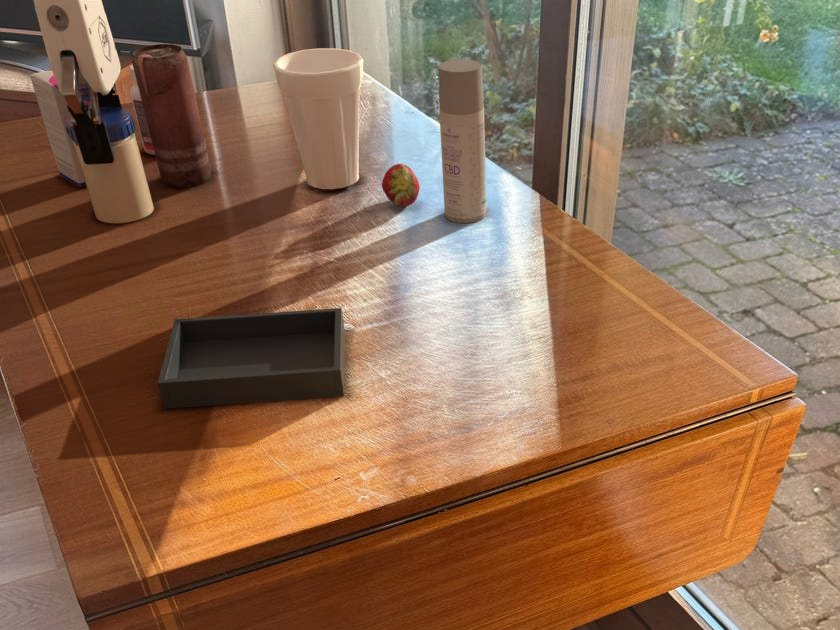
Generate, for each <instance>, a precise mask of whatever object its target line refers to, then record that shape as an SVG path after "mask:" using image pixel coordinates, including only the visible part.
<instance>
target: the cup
mask: <svg viewBox="0 0 840 630" xmlns="http://www.w3.org/2000/svg"><path fill="white" fill-rule="evenodd" d="M272 67H273V70H274V71H273V72H274V74H275V77H276V82H277V85H278V87H279V89H280V90H281V93H282V96H283V99H284V103H285V106H286V111H287V114H288V119H289V121H290V125H291V129H292V131H293V135H294V139H295V143H296V146H297V149H298V150H297V151H298V153H299V157H300V161H301V163H302V168H303V171H304V175H305V179H306V183H307V184H308V185H309V186H310V187H312V188H316V189H321V190H336V189H343V188H346V187H349V186H353V185H354V184H356V183H357V182H358V181H359V179H360V174H359V154H360V153H359V151H360V149H359V144H360V143H359V141H360V140H359V139H360V138H359V135H360V88H361V87H362V84H363V79H364V59H363V57H362V56H361V55H360V54H359V53H358V52H355V51H352V50H350V49H344V48H335V47H328V48H327V47H319V48H317V47H316V48H310V49H309V48H307V49H302V50H301V49H300V50H296V51H293V52H288V53H286V54H284V55H281V56H280V57H278V58H277V59H275V61H274V63H273V64H272Z"/></svg>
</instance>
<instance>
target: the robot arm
mask: <svg viewBox="0 0 840 630" xmlns="http://www.w3.org/2000/svg"><path fill="white" fill-rule="evenodd" d="M33 4H34V11H35V13H36V17H37V20H38V25H39V28H40V32H41V36H42V41H43V43H44V46H45V51H46V54H47V57H48V61H49V65H50V68H51V69H52V72H53V75H54V78H55V81H56V83H57V86H58V89H59V91H60V93H62V94H63V96H64V98H65V100H66V102H67V104H68V105H67V109H69V110H68V111H69V112H70V118H71V122H72V125H73V128H74V131H75V134H76V138H77V141H78V144H79V148H80V151H81V154H82V158H83V161H84V163H85V164H87V165H93V164H109V163H113V162H114V160H115V157H114V154H113V150H112V146H111V143H110V139H109V136H108V132H107V128H106V125H105V121H102V122H101V119H100V111H99V107H119V108H123V107H122V103H121V99H120V96H119V94H117V93H118V90H117V85H116V82H117V80H118V78H119V75H120V73H121V62H120V58H119V55H118V52H117V48H116V45H115V41H114V38H113V33H112V31H111V28H110V24H109V20H108V17H107V14H106V11H105V7H104V5H103V1H102V0H33ZM79 87H87V88H88V89H87V90H79ZM82 100H89V102H90V105H91V109H90V107H89V105H88V104H87V103H86V101H82Z"/></svg>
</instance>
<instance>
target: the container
mask: <svg viewBox="0 0 840 630" xmlns="http://www.w3.org/2000/svg"><path fill="white" fill-rule="evenodd" d="M437 69H438V99H439V101H438V102H439V103H438V105H439V129H440V149H441V150H440V151H441V163H442V164H441V167H442V184H443V185H442V186H443V187H442V188H443V204H444V205H443V206H444V217H445V219H447V220H448V221H450V222H453V223H457V224H471V223H475V222H476V223H477V222H479V221H481V220H483V219H484V218H485V217H487V184H486V183H487V181H486V180H487V179H486V177H487V176H486V175H487V174H486V137H485V135H486V133H485V129H486V128H485V127H486V126H485V103H484V102H485V101H484V82H483V81H484V80H483V63H481V62H480V61H478V60H474V59H467V58H456V59H449V60H445V61H442V62H441V63H440V64H439V65H438V68H437Z"/></svg>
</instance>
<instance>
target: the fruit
mask: <svg viewBox="0 0 840 630" xmlns="http://www.w3.org/2000/svg"><path fill="white" fill-rule="evenodd" d="M381 189H382V190H383V192H384V194H385V196H386V197H387V199H388V200H389V201H390V202H391V203H393V204H394V205H395V206H397V207H399V208H400V207H402V208H405V207H409V206H411V205H413V204H414V203H416V200H417V198H418V196H419V192H420V189H421V186H420V182H419V179H418V178H417V176H416V174H415V173H414V171H413V170H412V168H411V167H410V166H408V165H406V164H404V163H395V164H393V165H392V166H390V168H388V169H387V171H386V172H385V173H384V176H383V178H382V182H381Z"/></svg>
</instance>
